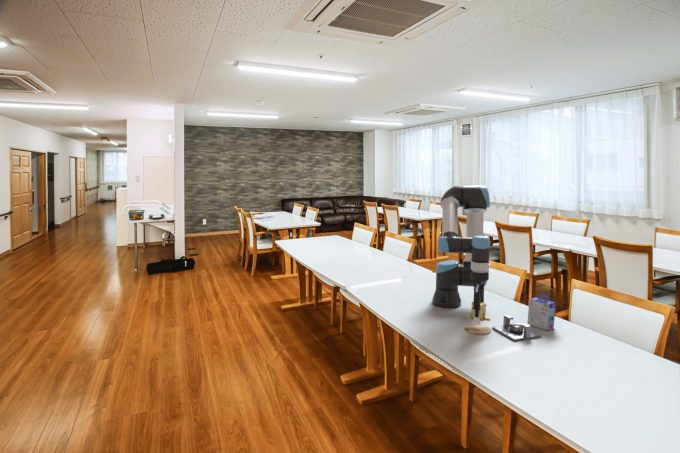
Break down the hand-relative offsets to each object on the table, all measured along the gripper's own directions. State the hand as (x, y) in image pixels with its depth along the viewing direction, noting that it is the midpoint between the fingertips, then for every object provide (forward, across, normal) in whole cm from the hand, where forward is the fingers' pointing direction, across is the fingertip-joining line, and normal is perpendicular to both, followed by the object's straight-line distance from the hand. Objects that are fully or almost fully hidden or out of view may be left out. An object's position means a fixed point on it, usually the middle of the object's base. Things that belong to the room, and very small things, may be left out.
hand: (478, 321), depth 172 cm
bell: (-1, 0, 0) cm, 1 cm away
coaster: (+4, 0, 0) cm, 4 cm away
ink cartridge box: (+4, +18, -25) cm, 31 cm away
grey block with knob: (+4, +4, -16) cm, 17 cm away
